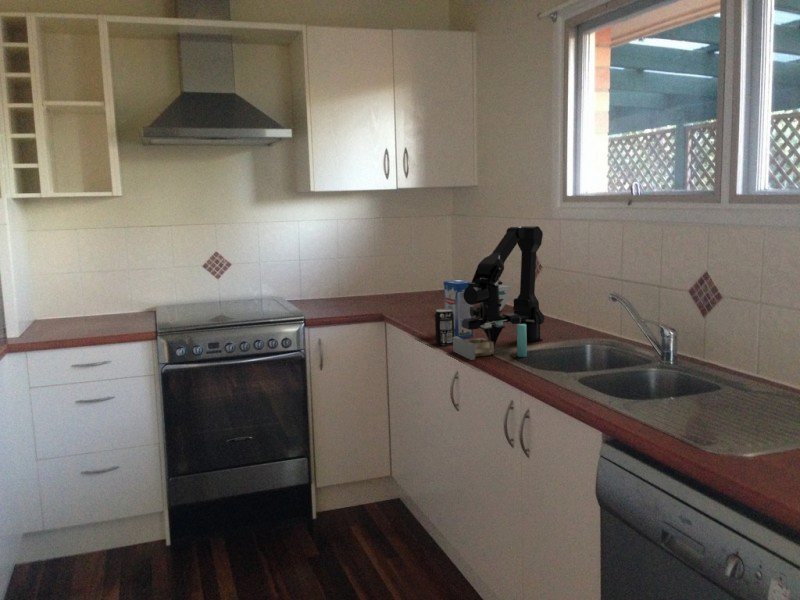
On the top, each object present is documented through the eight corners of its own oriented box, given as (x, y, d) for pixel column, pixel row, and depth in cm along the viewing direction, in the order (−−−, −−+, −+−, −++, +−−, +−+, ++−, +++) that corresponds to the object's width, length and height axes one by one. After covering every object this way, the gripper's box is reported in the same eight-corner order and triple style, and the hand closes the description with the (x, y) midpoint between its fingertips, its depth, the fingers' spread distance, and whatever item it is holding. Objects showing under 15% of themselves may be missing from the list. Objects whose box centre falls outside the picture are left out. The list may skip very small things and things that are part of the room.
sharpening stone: (462, 317, 304) (461, 292, 303) (453, 315, 311) (452, 290, 310) (511, 311, 315) (511, 286, 314) (501, 308, 322) (500, 284, 321)
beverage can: (443, 341, 259) (442, 308, 257) (458, 342, 254) (457, 309, 253) (432, 344, 254) (430, 310, 252) (447, 346, 249) (446, 312, 248)
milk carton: (445, 334, 271) (443, 281, 268) (460, 332, 273) (458, 279, 270) (457, 338, 262) (456, 283, 259) (473, 336, 264) (471, 282, 261)
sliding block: (483, 349, 241) (482, 337, 241) (493, 354, 234) (493, 342, 233) (461, 352, 239) (460, 340, 238) (471, 357, 231) (470, 344, 231)
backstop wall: (457, 351, 242) (457, 336, 241) (475, 359, 228) (474, 343, 228) (453, 351, 241) (452, 336, 240) (470, 359, 228) (470, 344, 227)
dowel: (524, 354, 232) (523, 323, 231) (528, 356, 229) (528, 325, 228) (515, 355, 231) (515, 324, 230) (520, 357, 228) (519, 326, 227)
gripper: (504, 294, 246) (506, 339, 248) (454, 300, 240) (456, 346, 242) (520, 298, 235) (522, 345, 238) (468, 304, 229) (470, 352, 232)
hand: (492, 347), depth 238 cm, fingers closed
